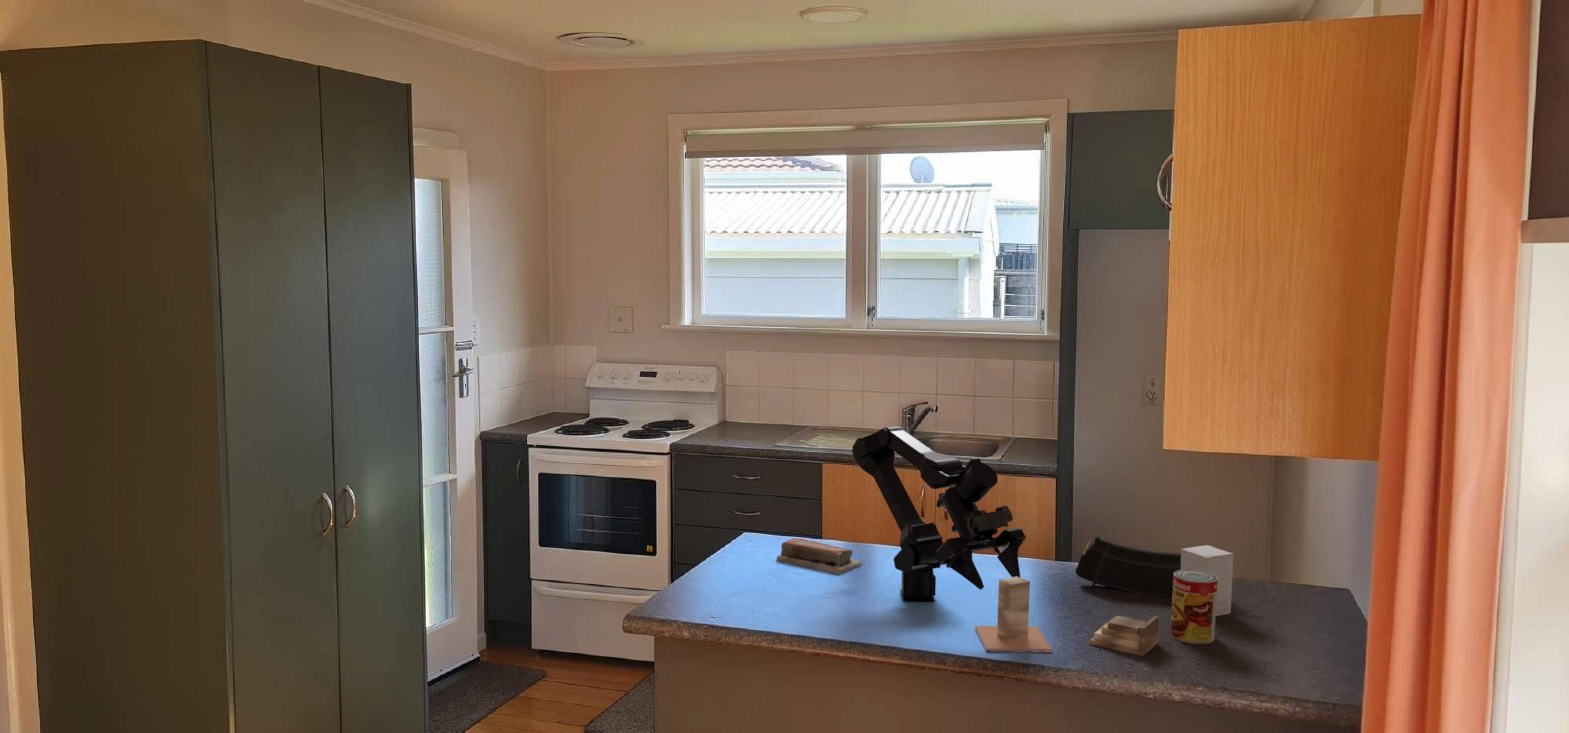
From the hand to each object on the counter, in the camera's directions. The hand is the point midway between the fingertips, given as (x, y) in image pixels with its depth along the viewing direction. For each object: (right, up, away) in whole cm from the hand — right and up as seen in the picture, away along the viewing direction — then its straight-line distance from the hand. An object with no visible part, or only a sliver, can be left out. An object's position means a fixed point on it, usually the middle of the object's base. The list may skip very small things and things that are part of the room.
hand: (1000, 584), depth 209 cm
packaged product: (-33, -5, +47) cm, 58 cm away
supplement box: (+45, -9, +16) cm, 48 cm away
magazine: (+37, -7, +28) cm, 47 cm away
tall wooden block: (+2, -9, -2) cm, 10 cm away
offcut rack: (+22, -10, -3) cm, 25 cm away
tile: (+2, -10, -2) cm, 10 cm away
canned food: (+37, -10, +1) cm, 38 cm away
